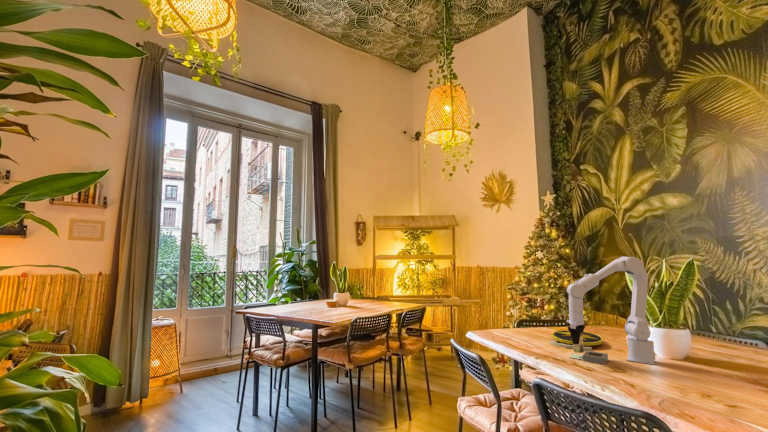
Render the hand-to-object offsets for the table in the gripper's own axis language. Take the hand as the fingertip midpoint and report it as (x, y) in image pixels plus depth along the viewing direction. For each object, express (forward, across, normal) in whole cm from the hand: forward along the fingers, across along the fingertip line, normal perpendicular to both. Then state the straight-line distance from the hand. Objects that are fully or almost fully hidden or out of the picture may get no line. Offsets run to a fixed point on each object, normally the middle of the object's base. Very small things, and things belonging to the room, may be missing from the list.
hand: (577, 342), depth 169 cm
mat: (+6, 0, 0) cm, 6 cm away
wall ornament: (+6, -28, -5) cm, 29 cm away
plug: (+4, 0, +1) cm, 4 cm away
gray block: (+6, 0, +7) cm, 9 cm away
